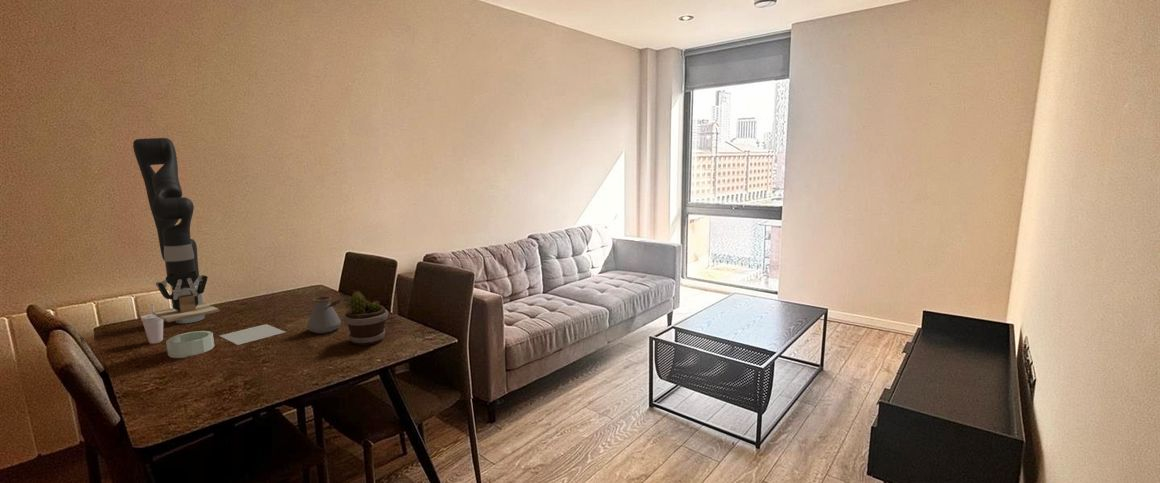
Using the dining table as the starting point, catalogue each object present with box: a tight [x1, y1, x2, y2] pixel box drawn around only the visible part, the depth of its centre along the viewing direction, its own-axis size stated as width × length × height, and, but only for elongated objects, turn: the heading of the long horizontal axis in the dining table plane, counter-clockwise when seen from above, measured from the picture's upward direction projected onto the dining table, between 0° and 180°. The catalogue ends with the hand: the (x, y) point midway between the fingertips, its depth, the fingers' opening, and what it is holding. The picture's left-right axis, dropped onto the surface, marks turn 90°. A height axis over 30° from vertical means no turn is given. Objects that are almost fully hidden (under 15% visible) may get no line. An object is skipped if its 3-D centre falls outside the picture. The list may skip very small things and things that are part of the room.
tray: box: [219, 323, 286, 346], centre depth 182 cm, size 16×16×1 cm
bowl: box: [165, 330, 215, 359], centre depth 166 cm, size 12×12×5 cm
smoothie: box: [140, 303, 164, 345], centre depth 174 cm, size 6×6×14 cm
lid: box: [153, 294, 221, 323], centre depth 164 cm, size 14×14×6 cm
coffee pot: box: [306, 295, 344, 334], centre depth 182 cm, size 21×12×15 cm, turn 49°
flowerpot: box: [342, 290, 389, 346], centre depth 175 cm, size 14×15×20 cm
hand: (186, 308), depth 164 cm, fingers closed on lid, 4 cm apart
